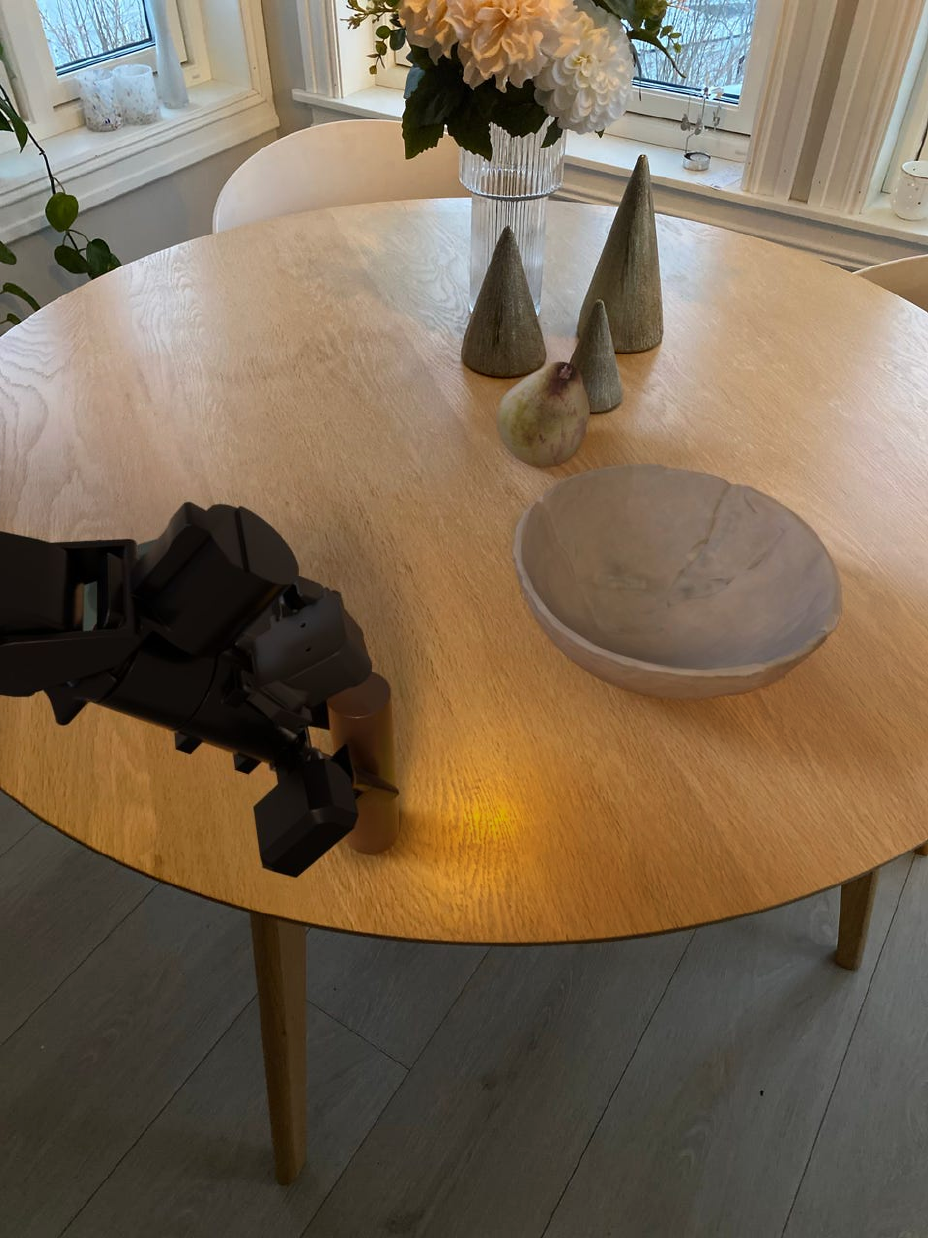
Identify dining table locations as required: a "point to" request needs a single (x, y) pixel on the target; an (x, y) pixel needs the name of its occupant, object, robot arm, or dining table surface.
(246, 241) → the dining table surface
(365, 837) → the dowel
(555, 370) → the fruit
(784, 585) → the bowl
